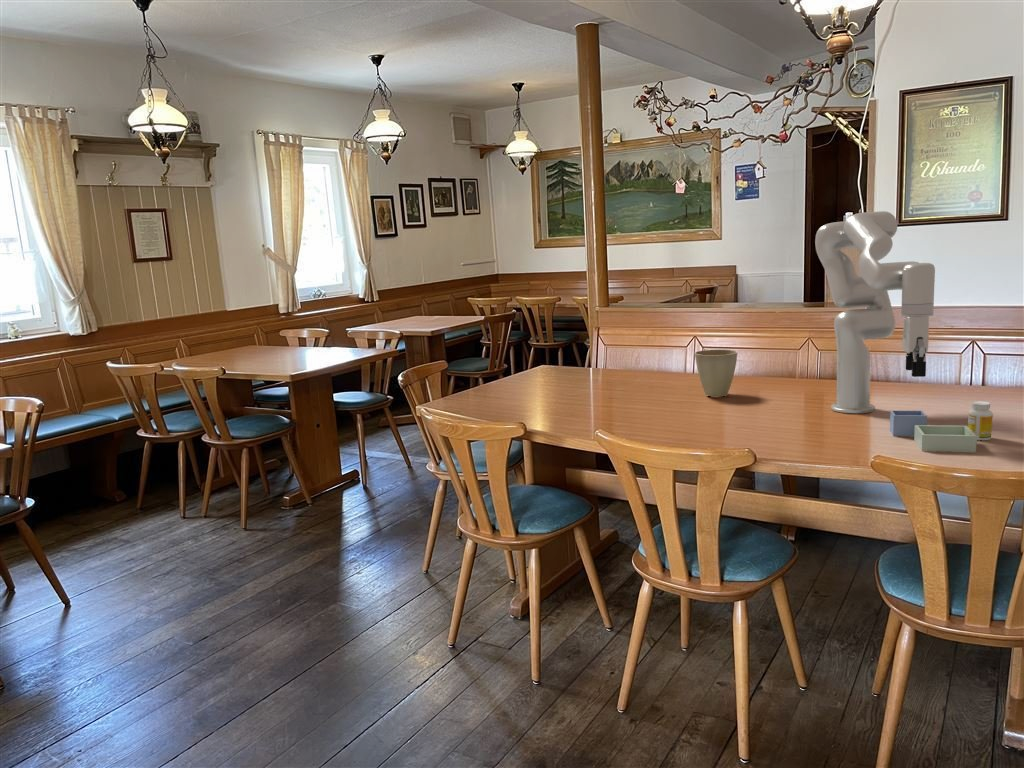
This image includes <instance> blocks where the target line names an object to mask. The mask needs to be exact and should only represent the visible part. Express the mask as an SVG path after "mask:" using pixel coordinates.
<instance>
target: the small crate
mask: <svg viewBox="0 0 1024 768" xmlns="http://www.w3.org/2000/svg"><path fill="white" fill-rule="evenodd" d="M927 423H928V415H927V414H926V413H925V412H924V411H923V410H908V409H907V410H902V409H901V410H900V409H899V410H897V409H895V410H891V409H890V411H889V432H890V434H891V433H892V434H891V435H892V436H893V437H895V436H914V432H915V425H928V424H927Z"/></svg>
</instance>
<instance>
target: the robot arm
mask: <svg viewBox="0 0 1024 768" xmlns="http://www.w3.org/2000/svg"><path fill="white" fill-rule="evenodd" d="M897 230H898V221H897V218H896V217H895V216H894V214H893V213H891V212H889V211H885V210H884V211H883V210H882V211H880V210H879V211H868V212H859V213H855V214H852V215H850V216H849V217H847V219H845V221H836V222H830V223H826V224H824V225H822V226H820V227H819V228H818V230H817V231H816V234H815V240H814V243H815V252H816V254H817V256H818V259H819V261H820V263H821V265H822V267H823V269H824V271H825V274H826V275H825V276H826V279H827V283H828V287H829V290H830V295H831V298H832V301H833V304H834V306H836V307H837V308H839V309H849V310H844V311H842V312H841V311H840V313H838V314H837V315H836V316H835V318H834V322H833V329H834V330H833V331H834V335H835V340H836V402H833V403H832V404H831V406H830V408H831V410H832V411H834V412H837V413H844V414H868V413H872V412H874V411H875V410H876V406H875V405H874V404H871V403H870V396H871V395H870V394H871V393H870V392H871V389H870V388H871V386H870V385H871V353H870V350H869V348H868V347H867V346H866V344H865V343H864V341H867V340H877V339H879V340H880V339H885V338H888V337H890V336H892V335H893V334H894V333H895V329H896V319H895V314H894V311H893V307H892V303H891V299H890V296H889V292H888V291H895V290H896V291H897V290H899V291H901V317H904V321H903V327H902V328H903V329H902V331H903V332H902V344H901V347H902V350H903V351H904V352H905V353H906V355H905V370H906V371H911V376H912V377H915V378H917V377H921V378H923V377H926V374H927V357H926V356H927V355H926V353H927V352H928V351H929V338H930V337H929V335H930V332H929V331H930V329H929V328H930V327H929V326H930V323H929V322H930V321H929V319H930V318H929V317H933V316H934V312H935V311H934V306H935V303H934V300H935V281H936V279H935V277H936V275H935V274H936V267H935V265H934V264H933V263H931V262H918V261H914V260H913V261H896V262H894V261H893V262H884V263H883V262H881V263H880V262H879V261H881V260H882V259H884V258H885V257H887V255H888V254H889V253H890V252H891V250H892V249H893V239H892V238H893V237H894V236H895V235H896V233H897V232H898V231H897ZM845 249H857V250H858V251H859V253H860V255H859V258H858V271H859V274H860V276H859V275H858V273H857V270H856V267H855V266H856V265H855V263H854V262H853V261H852V259H851V258H850V257H849V256H848V255H847V254H846V253H844V252H843V251H842V250H845ZM856 308H857V309H856Z"/></svg>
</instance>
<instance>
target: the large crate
mask: <svg viewBox="0 0 1024 768" xmlns="http://www.w3.org/2000/svg"><path fill="white" fill-rule="evenodd" d="M913 439H914V440H915V441H914V442H915V444H916V443H917V444H916V445H917V446H919V447H918V448H919V450H920V449H921V450H922V451H921V450H920V451H921V452H924V451H923V450H927V451H926V452H936V451H952V452H951V453H977V440H976V439H977V436H976V435H975V434H974V433H973V432H972V431H971V430H970V429H969V428H968V425H932V424H929V425H928V424H927V425H915V432H914V437H913Z"/></svg>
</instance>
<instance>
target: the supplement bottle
mask: <svg viewBox="0 0 1024 768" xmlns="http://www.w3.org/2000/svg"><path fill="white" fill-rule="evenodd" d="M971 408H972V409H969V411H968V415H967V416H968V419H967V427H968V428H969V429H970V430H971V431H972V432H973V433H974V434H975V435H976V436H977V439H976V441H980V440H982V441H990V440H991V439H992V431H993V418H994V417H993V415H994V414H993V412H992V411H991V410H990V409H991V403H990V402H988V401H979V400H978V401H972V404H971Z"/></svg>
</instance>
